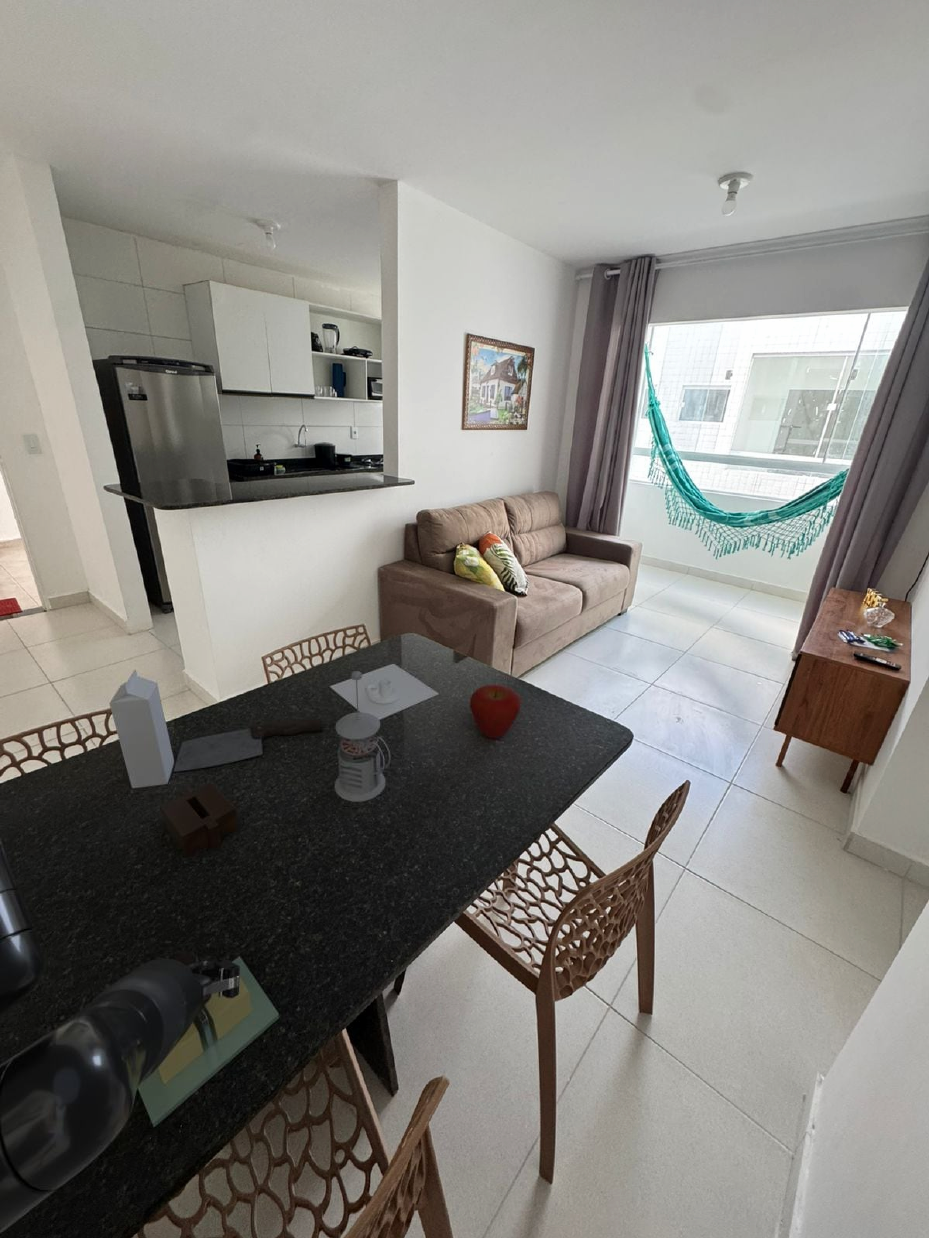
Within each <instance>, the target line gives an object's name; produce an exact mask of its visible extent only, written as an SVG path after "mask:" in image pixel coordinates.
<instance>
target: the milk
mask: <svg viewBox="0 0 929 1238" xmlns="http://www.w3.org/2000/svg"><path fill="white" fill-rule="evenodd" d="M109 707H110V711H111V714H112V718H113V719H112V720H113V722H114V726H115V729H116V733H117V737H118V740H119V744H120V748H121V752H122V756H123V759H124V763H125V767H126V771H127V775H128V779H129V782H130V786H131V789H139V788H147V787H155V786H162V785H168V783H169V780H170V777H171V775H172V773H173V770H174V768H175V763H176V762H175V759H174V754H173V750H172V744H171V741H170V736H169V731H168V727H167V722H166V719H165V713H164V709H163V703H162V699H161V695H160V689H159V685H158V682H156V681H153V680H151V679H148V678H145V677H143V676H139V675H138V673H137V669H133V671H132V673H131V674H130V676H129V678H128V679H127V681H125V682H124V683H122V684H121V685H120V686H119V687H118V689H117V690H116V692H115V694H114V695H113V697H112V698H111V700H110V701H109Z"/></svg>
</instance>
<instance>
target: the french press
mask: <svg viewBox="0 0 929 1238" xmlns="http://www.w3.org/2000/svg"><path fill="white" fill-rule="evenodd" d="M362 675H363V674H362V672H361V671H359V670H354V671H353V672H351V675H350V677H351V678H350V679H353V680H356V695H357V709H356V712H351V713H348V714H346V715H344V716H342V717H341V718H340V719H339V720H338V721H337V722H336V724H335V730H336V733H337V735H339V736H340V737H341V739H340V741H339V745H338V746H339V748H338V751H337V762H338V777H337V778H336V779H335V782H334V786H333V787H334V790H335V793H336V795H338V796H339V797H340V798H341V799H343V800H346V801H349V802H365V801H366V802H367V801H369V800H372V799H374V798H376V797H378V795H380V794H382V791H384V789H385V787H386V780H387V779H386V778H385V775H384V774H383V771H384V770H385V769H386V768H388V767H389V766H390V764H391V751H390V749H389V746H388V745H387V743H386V741H385V740H384V739H383V738H382V737H381V736H376V734H377V732H378V731H379V730H380V729H381V728H380V727H381V721H380V720H379V719H378V718H377V717H375V716H374V715H372V714H369V713H361V712H359V711H358V690H357V680H360V679H361V678H362ZM379 739H380V741H382V742H383V744H384V746H385V748H386V750H387V753H388V763H387V764H385V761H386V760H385V756H384V753H383V751H382V749H381V746H380V744H379ZM371 755H372V756H371ZM367 756H370V757H367ZM381 756H382V767H381ZM361 757H365V758H361ZM354 758H357V759H354ZM358 758H359V759H358Z"/></svg>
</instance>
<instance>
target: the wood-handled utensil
mask: <svg viewBox="0 0 929 1238" xmlns="http://www.w3.org/2000/svg"><path fill="white" fill-rule="evenodd" d="M176 960H177V961H179V962H182V963H183V964H185V965H186V966H188V965H189V964H193V963H199V959H198V956H197V955H196V954H195V953H193V952H187V953H184V954H182V955H180V956H179V957H178V958H177V959H176ZM204 1006H205V1004H204V1005H202V1006H200V1007H199V1008H198V1011H197V1013H196V1016H195V1018H194V1022H195V1024H196V1026H197V1028H198V1029H199V1031H200V1033H201V1035H202V1037H203V1039H204V1040H205V1042H206V1044H207V1046H208V1048H210V1047H211V1046H213V1045H214V1042H213V1038H212V1034H211V1030H210V1026H209V1022H208V1018H207V1016H206V1015H205V1013H204V1011H203V1007H204Z"/></svg>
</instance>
